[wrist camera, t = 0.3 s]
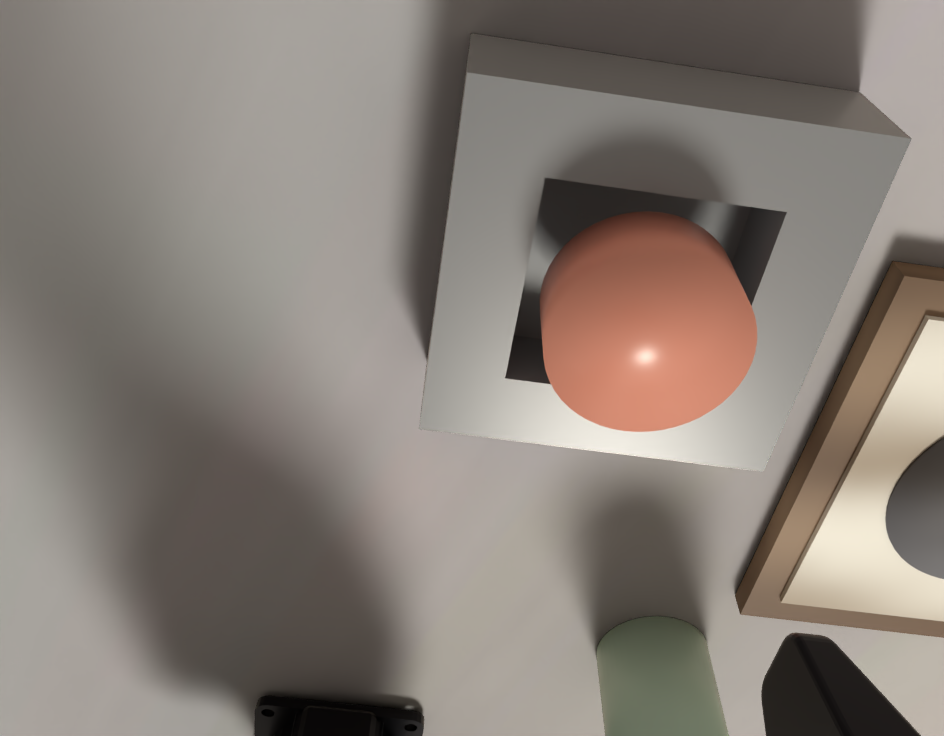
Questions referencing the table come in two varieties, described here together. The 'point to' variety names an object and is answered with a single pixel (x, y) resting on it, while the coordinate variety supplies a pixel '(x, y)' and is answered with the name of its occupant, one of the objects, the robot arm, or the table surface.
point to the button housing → (638, 190)
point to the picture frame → (868, 481)
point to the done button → (645, 323)
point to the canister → (658, 680)
